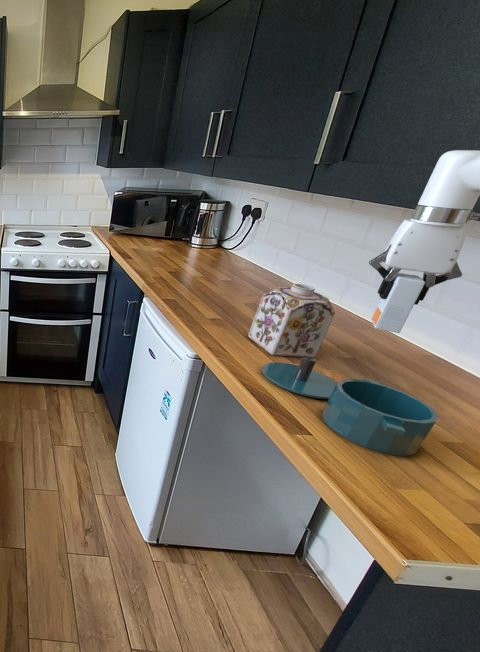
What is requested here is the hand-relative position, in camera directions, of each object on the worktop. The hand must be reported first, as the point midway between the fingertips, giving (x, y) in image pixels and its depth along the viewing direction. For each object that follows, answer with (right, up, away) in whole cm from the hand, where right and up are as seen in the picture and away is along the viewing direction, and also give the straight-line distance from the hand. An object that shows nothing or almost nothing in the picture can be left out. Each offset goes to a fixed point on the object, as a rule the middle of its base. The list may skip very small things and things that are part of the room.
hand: (397, 299), depth 88 cm
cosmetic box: (0, -6, +3) cm, 7 cm away
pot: (-16, -27, -9) cm, 32 cm away
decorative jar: (-8, -12, +23) cm, 28 cm away
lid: (-17, -19, +6) cm, 26 cm away
